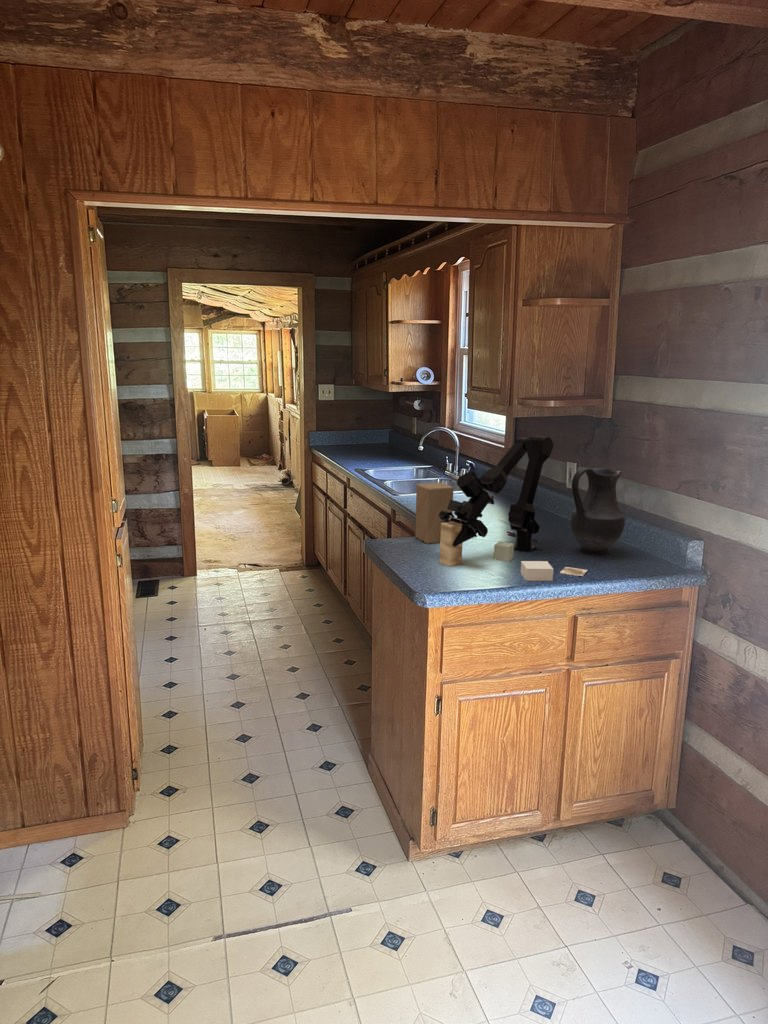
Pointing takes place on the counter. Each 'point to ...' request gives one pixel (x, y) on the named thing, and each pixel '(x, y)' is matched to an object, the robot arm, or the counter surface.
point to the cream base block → (536, 571)
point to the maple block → (450, 544)
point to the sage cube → (503, 551)
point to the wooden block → (431, 510)
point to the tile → (573, 571)
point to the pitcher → (597, 511)
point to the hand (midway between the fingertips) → (447, 543)
